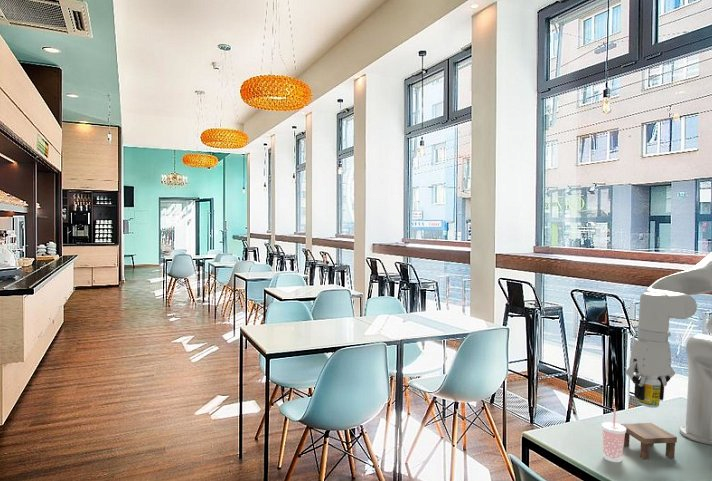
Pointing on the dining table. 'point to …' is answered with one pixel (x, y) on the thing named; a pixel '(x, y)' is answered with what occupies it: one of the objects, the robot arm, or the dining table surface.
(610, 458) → the beverage cup
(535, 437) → the dining table surface
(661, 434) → the footstool
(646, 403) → the supplement bottle
